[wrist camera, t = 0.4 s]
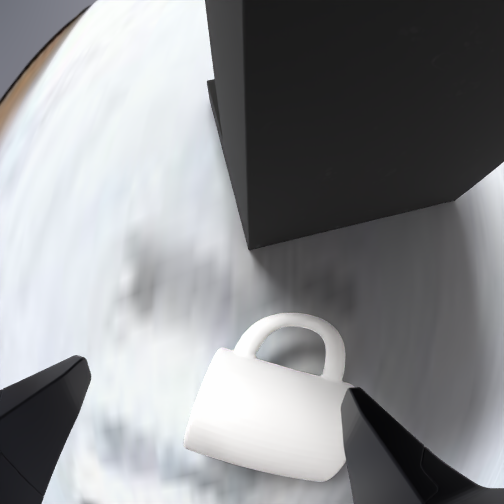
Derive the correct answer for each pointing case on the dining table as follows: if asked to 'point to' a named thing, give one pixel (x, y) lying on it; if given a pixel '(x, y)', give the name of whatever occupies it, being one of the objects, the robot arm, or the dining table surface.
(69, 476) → the dining table surface
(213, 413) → the mug
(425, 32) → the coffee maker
